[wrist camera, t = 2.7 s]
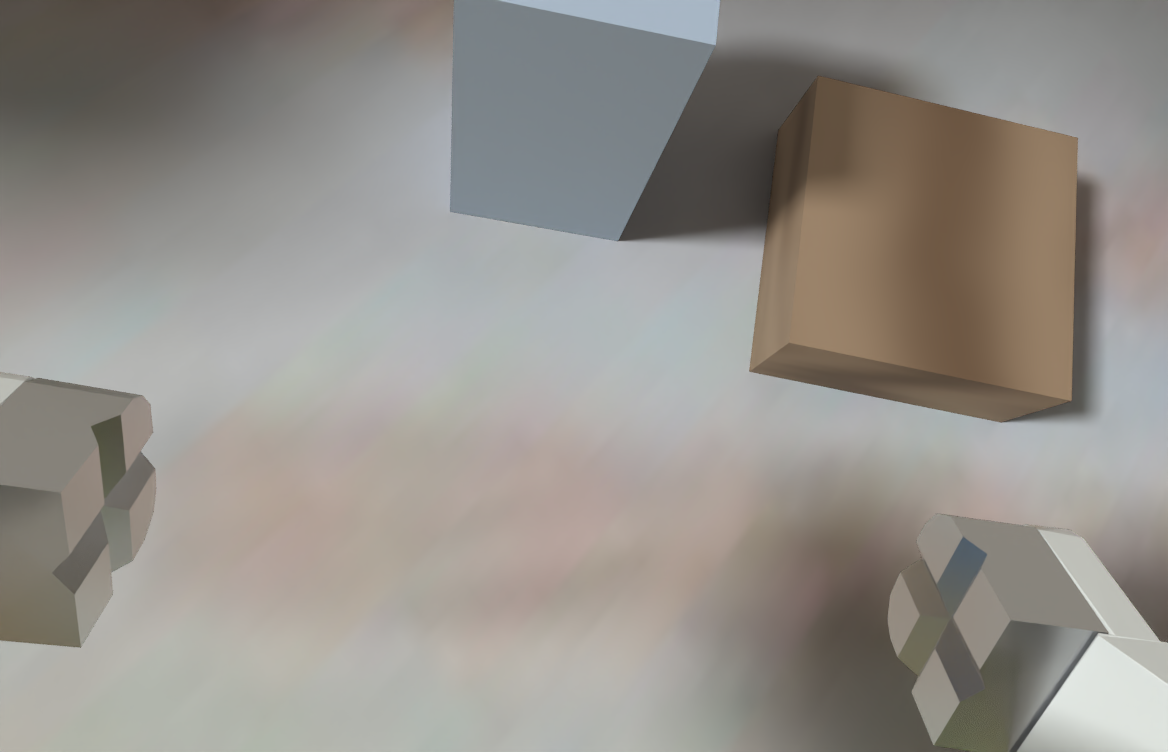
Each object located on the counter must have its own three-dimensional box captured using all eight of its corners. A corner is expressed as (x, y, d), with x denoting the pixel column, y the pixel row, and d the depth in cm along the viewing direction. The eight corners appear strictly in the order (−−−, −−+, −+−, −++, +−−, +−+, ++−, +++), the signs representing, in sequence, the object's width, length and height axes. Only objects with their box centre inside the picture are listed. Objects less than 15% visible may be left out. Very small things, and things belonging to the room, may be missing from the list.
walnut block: (745, 373, 27) (789, 342, 23) (774, 135, 29) (817, 75, 25) (995, 424, 28) (1071, 400, 24) (1005, 189, 30) (1077, 138, 26)
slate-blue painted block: (450, 211, 26) (453, -9, 17) (476, 61, 27) (494, -225, 18) (617, 241, 27) (715, 45, 17) (636, 92, 28) (736, -168, 18)
